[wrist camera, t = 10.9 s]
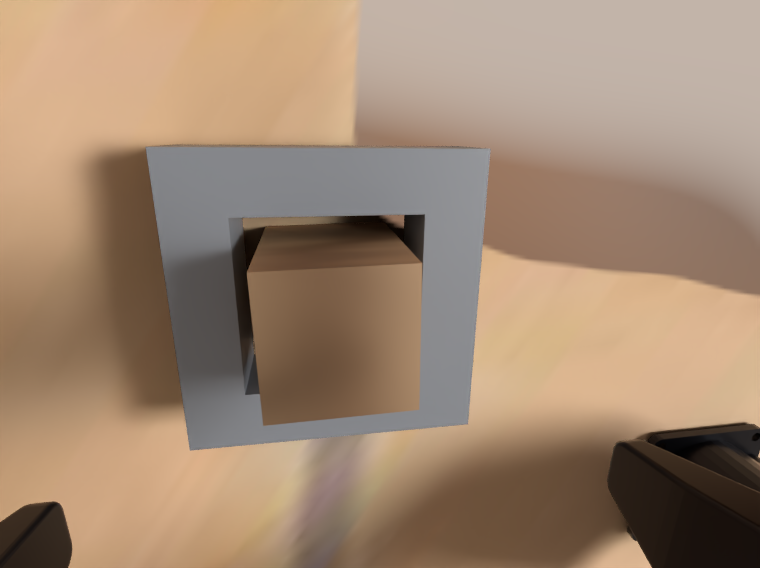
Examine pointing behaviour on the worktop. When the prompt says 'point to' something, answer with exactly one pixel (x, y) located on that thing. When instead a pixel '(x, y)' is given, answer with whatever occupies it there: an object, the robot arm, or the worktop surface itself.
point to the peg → (335, 322)
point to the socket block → (303, 199)
